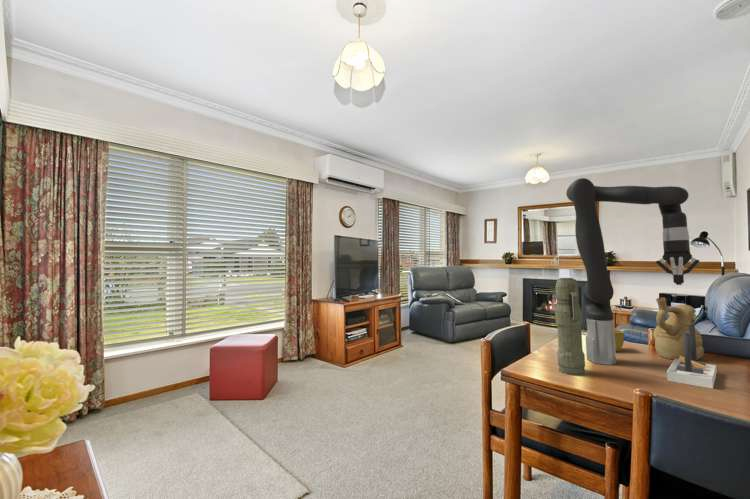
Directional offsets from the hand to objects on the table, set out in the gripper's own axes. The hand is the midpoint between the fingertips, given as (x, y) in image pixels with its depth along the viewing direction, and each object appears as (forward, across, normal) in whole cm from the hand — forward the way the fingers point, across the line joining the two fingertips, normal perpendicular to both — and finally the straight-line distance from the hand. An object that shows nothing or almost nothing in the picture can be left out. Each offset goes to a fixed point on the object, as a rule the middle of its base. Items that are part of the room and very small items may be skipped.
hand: (679, 284), depth 129 cm
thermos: (+31, -28, -33) cm, 54 cm away
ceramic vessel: (+31, -4, +14) cm, 34 cm away
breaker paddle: (+27, +3, -13) cm, 30 cm away
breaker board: (+31, +3, -13) cm, 34 cm away
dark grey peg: (+28, +3, -22) cm, 35 cm away
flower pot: (+31, -26, +9) cm, 42 cm away
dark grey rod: (+28, +3, -4) cm, 29 cm away
